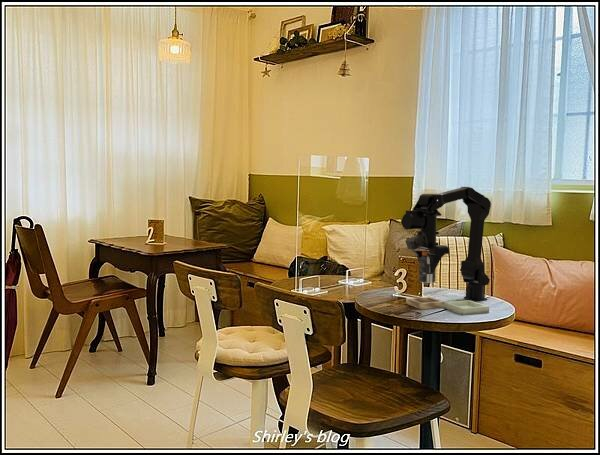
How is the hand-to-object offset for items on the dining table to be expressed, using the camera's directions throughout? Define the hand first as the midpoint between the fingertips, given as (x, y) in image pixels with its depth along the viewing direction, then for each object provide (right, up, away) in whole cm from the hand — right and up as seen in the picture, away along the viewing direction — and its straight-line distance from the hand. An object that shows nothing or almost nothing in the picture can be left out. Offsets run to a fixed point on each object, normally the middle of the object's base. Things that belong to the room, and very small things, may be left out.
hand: (427, 271), depth 212 cm
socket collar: (0, -13, +1) cm, 13 cm away
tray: (+13, -14, -6) cm, 19 cm away
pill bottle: (0, -4, 0) cm, 4 cm away
